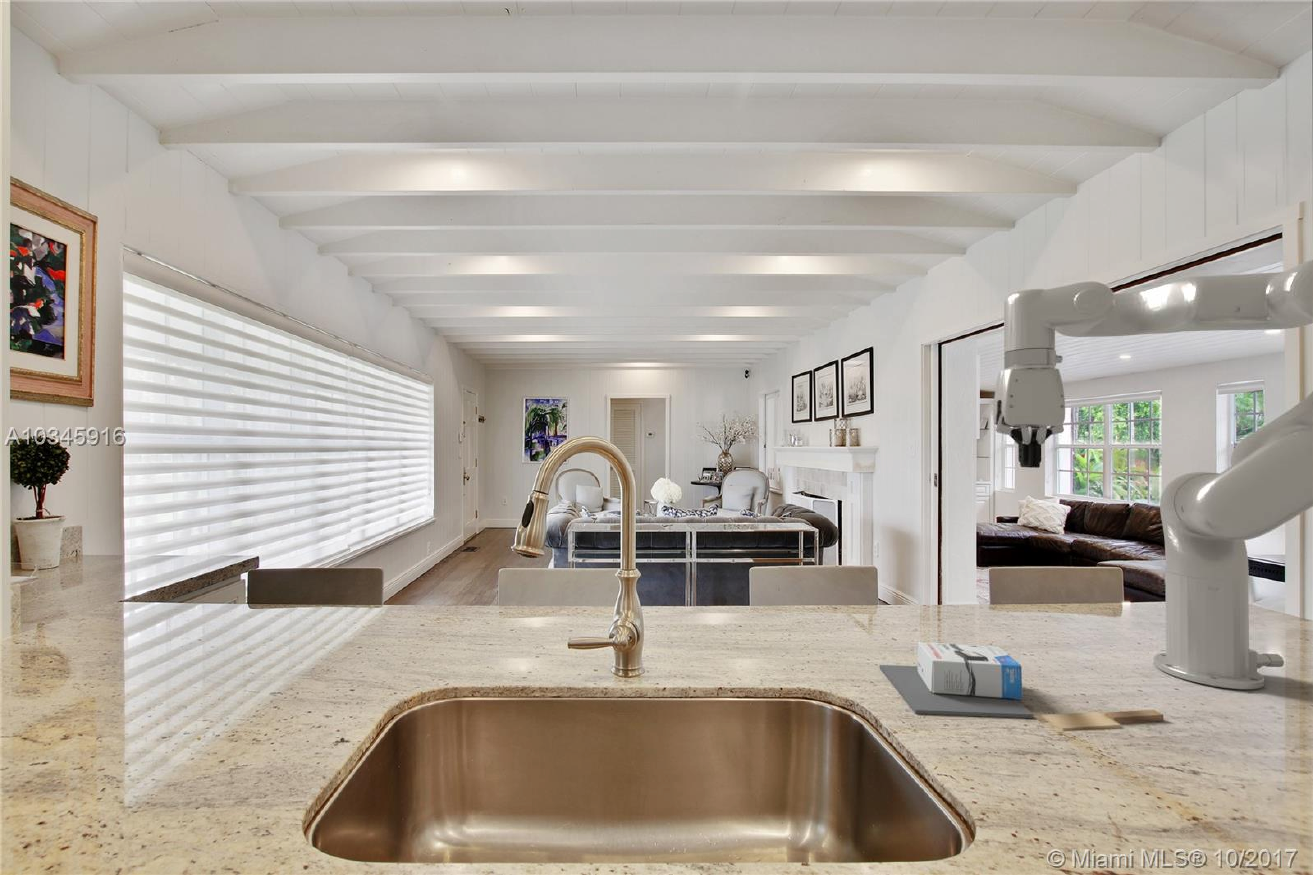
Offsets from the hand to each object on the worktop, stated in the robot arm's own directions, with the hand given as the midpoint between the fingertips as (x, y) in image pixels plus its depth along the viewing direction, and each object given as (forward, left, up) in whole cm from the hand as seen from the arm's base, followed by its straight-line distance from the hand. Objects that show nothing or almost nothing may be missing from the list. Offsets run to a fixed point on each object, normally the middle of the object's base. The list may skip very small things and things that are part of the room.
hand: (1029, 467), depth 102 cm
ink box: (+12, +18, -29) cm, 36 cm away
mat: (+21, +18, -32) cm, 42 cm away
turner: (+5, +26, -32) cm, 42 cm away
